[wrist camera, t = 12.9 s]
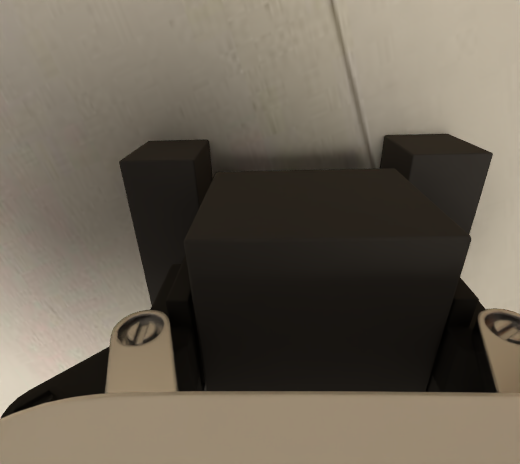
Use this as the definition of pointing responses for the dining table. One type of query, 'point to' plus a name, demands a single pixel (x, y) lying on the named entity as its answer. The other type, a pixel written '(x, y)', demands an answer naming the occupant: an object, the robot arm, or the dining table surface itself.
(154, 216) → the forked base block
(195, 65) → the dining table surface
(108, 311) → the dining table surface
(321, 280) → the dark grey square block
